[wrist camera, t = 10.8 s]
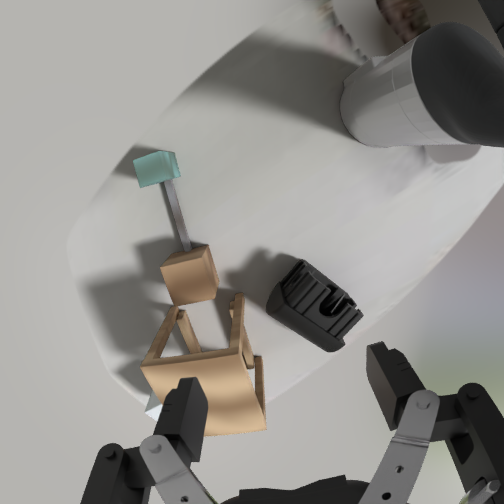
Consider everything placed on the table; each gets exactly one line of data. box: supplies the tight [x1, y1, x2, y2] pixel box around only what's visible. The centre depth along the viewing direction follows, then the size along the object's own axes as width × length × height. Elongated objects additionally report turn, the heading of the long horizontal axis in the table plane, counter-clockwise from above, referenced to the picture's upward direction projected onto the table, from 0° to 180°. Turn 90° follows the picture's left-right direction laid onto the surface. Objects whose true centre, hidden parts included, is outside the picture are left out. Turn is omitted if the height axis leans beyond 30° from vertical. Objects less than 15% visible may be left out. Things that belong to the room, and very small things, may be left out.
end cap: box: [266, 260, 364, 352], centre depth 34 cm, size 10×7×7 cm
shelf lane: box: [140, 293, 266, 436], centre depth 33 cm, size 12×10×13 cm
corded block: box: [133, 151, 219, 307], centre depth 32 cm, size 17×5×6 cm, turn 14°
